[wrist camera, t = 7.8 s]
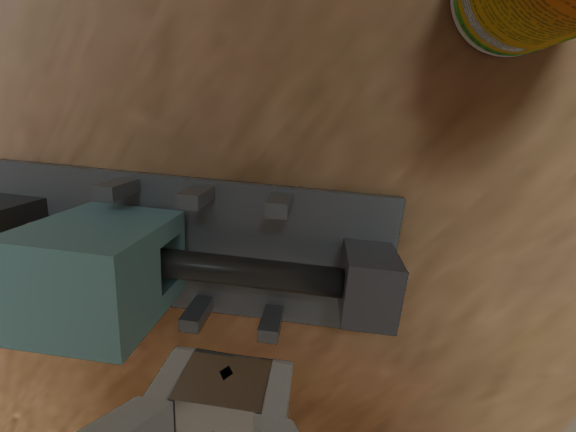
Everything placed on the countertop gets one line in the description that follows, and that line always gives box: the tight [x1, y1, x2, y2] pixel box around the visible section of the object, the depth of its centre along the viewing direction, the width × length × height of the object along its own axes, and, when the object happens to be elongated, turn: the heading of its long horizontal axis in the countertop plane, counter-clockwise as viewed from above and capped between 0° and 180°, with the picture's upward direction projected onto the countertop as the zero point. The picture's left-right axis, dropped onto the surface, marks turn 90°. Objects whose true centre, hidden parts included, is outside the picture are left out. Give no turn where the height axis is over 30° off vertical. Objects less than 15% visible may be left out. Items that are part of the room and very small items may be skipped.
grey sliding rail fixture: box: [0, 159, 409, 345], centre depth 16 cm, size 8×22×6 cm, turn 86°
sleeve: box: [0, 202, 185, 365], centre depth 15 cm, size 4×5×6 cm
